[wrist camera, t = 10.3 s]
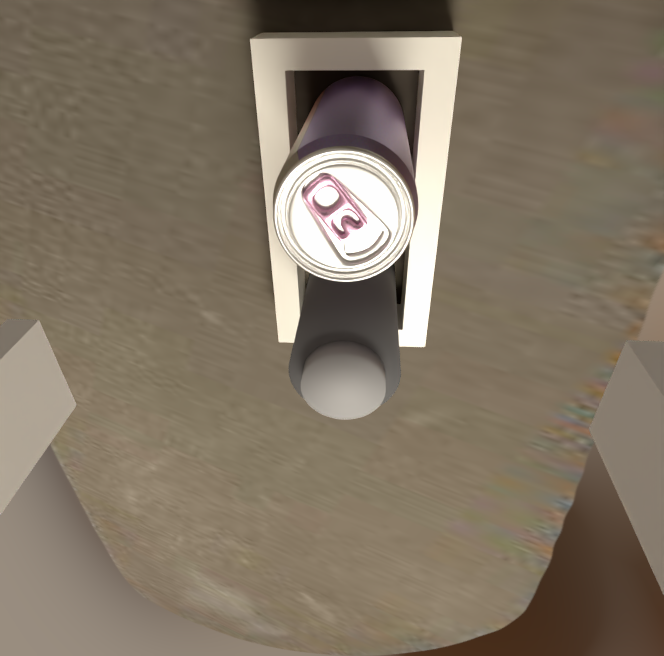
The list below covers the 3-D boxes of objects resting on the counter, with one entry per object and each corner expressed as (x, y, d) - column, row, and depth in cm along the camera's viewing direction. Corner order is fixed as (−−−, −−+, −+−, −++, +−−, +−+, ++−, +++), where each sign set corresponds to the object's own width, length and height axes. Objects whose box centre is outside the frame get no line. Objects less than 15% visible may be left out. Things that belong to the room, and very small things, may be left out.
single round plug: (312, 222, 36) (281, 340, 24) (396, 223, 35) (405, 344, 24) (315, 293, 39) (288, 427, 27) (391, 295, 39) (397, 432, 27)
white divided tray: (262, 32, 29) (249, 38, 26) (453, 30, 28) (462, 37, 25) (285, 316, 40) (278, 342, 38) (421, 320, 40) (424, 347, 37)
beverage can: (367, 51, 29) (358, 105, 17) (422, 135, 32) (449, 235, 19) (291, 117, 32) (236, 206, 19) (348, 190, 34) (331, 310, 22)
